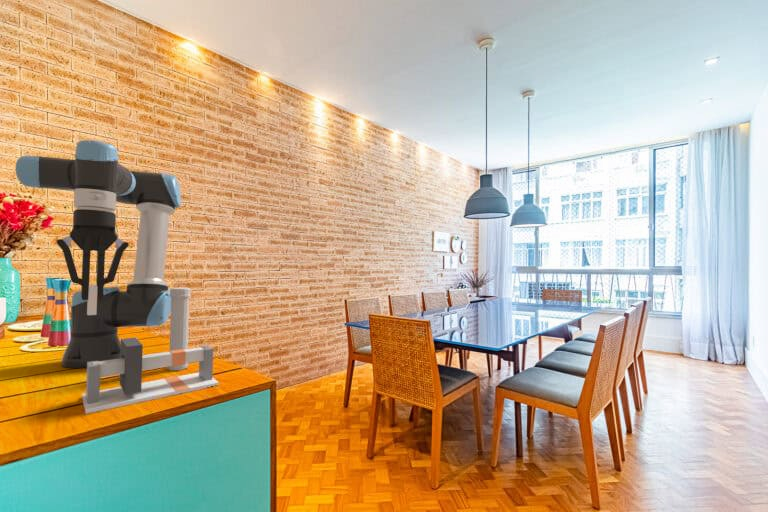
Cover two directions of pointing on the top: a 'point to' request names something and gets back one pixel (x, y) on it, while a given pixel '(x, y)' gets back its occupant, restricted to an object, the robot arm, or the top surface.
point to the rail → (152, 389)
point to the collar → (131, 365)
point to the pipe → (179, 321)
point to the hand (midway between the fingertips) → (91, 314)
